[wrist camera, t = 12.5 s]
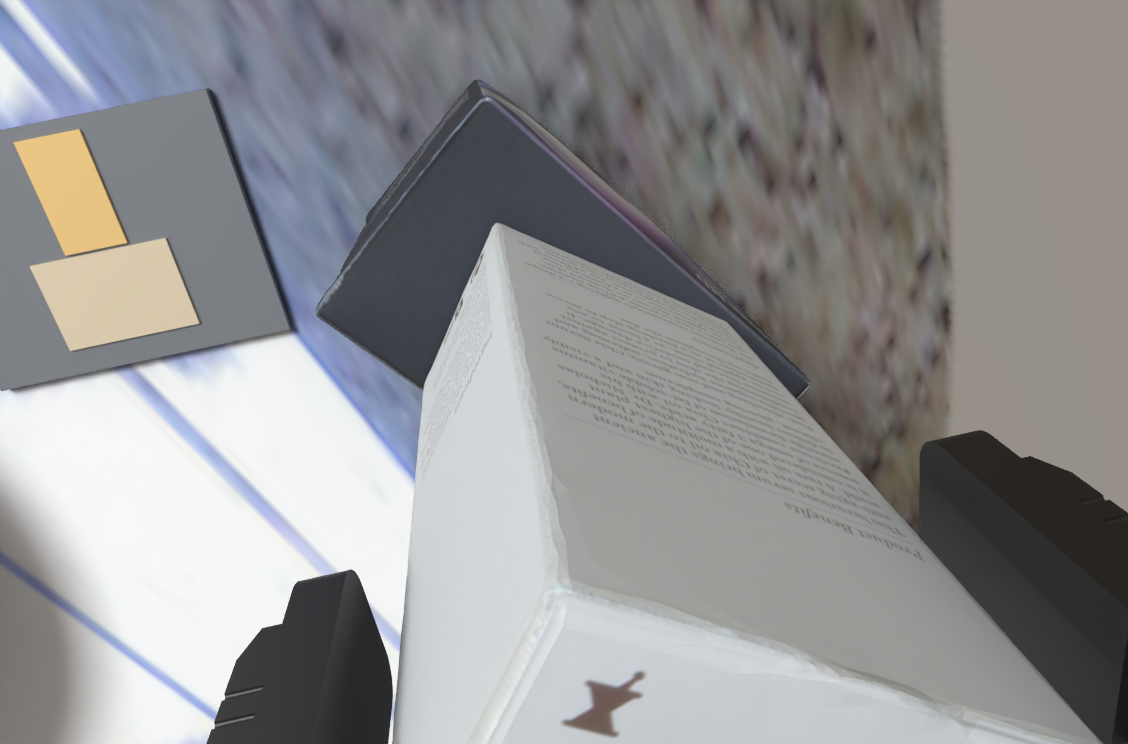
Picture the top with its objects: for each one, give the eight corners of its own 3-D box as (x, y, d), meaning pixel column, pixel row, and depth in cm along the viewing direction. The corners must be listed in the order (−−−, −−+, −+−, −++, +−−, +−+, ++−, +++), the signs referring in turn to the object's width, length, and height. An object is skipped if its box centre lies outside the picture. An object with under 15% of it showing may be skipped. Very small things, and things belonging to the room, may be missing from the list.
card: (-118, 154, 24) (-127, 155, 24) (208, 88, 24) (204, 88, 24) (5, 387, 27) (-1, 392, 27) (291, 326, 28) (289, 330, 27)
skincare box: (419, 387, 18) (345, 949, 7) (493, 215, 16) (549, 574, 6) (652, 472, 19) (893, 1038, 8) (737, 321, 18) (1153, 762, 7)
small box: (708, 268, 29) (832, 385, 19) (590, 396, 30) (649, 565, 20) (480, 64, 25) (491, 81, 15) (358, 221, 26) (300, 325, 17)
